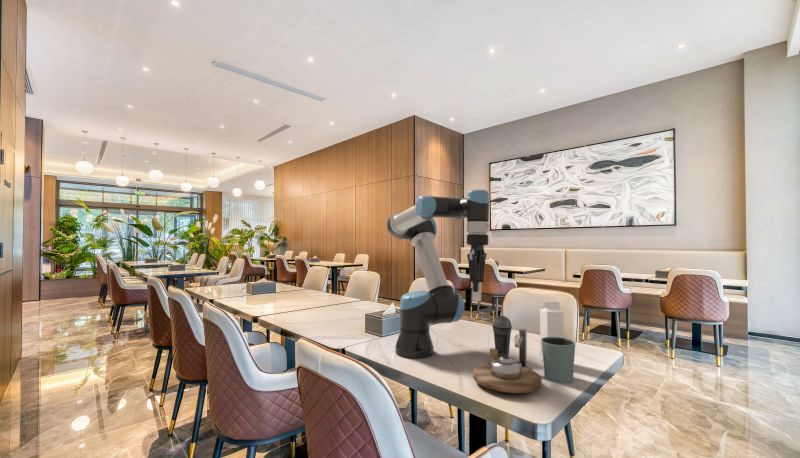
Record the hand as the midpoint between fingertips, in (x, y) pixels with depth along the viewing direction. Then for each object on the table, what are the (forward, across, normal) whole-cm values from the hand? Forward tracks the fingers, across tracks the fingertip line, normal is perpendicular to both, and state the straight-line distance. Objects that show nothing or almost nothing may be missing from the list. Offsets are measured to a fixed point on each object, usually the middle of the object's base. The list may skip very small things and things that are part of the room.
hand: (476, 300), depth 124 cm
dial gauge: (+23, +1, -15) cm, 27 cm away
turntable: (+21, -9, -13) cm, 27 cm away
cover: (+20, -10, -13) cm, 26 cm away
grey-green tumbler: (+23, +5, -26) cm, 35 cm away
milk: (+23, +20, -22) cm, 37 cm away
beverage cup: (+23, +16, -5) cm, 28 cm away
